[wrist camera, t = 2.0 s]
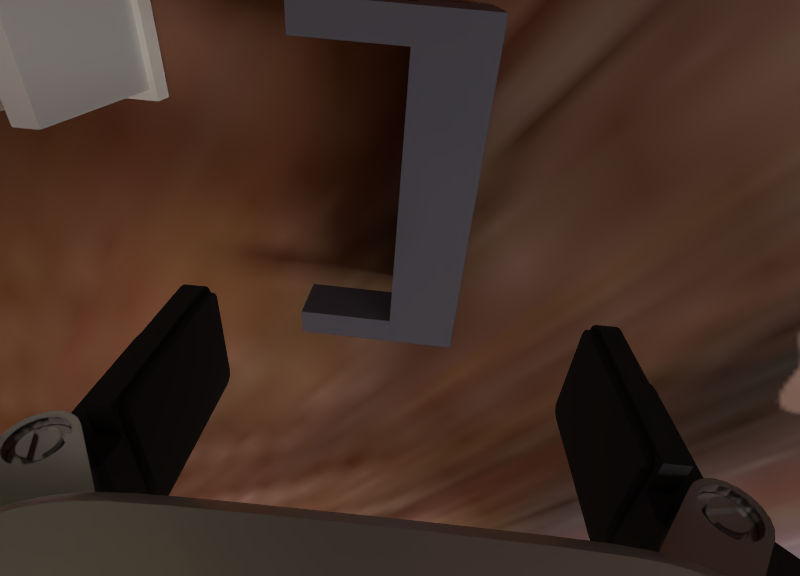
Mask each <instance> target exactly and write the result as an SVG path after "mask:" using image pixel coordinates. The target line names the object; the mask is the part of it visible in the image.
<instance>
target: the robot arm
mask: <svg viewBox="0 0 800 576" xmlns="http://www.w3.org/2000/svg"><path fill="white" fill-rule="evenodd" d="M229 376H230V368H229V363H228V357H227V351H226V346H225V340H224V334H223V329H222V323H221V317H220V312H219V306H218V300H217V296H216V294H215V293H211V292H210V290H209V288H208V287H206V286H196V285H186V284H185V285H182V286H181V287H180V288H179V289H178V290H177V292H176V293H175V294H174V295H173V296H172V297H171V299H170V300H169V301H168V302H167V303H166V304H165V306H164V307H163V308H162V309H161V310H160V311H159V313H158V314H157V315H156V316H155V317H154V318H153V320H152V321H151V322H150V323H149V324H148V325H147V327H146V328H145V329H144V330H143V331H142V332H141V334H139V335H138V336H137V337H136V338H135V339H134V340H133V341H132V343H131V344H130V345H129V346H128V347H127V348H126V350H125V351H124V352H123V353H122V354H121V355H120V357H119V358H118V359H117V360H116V361H115V362H114V364H113V365H112V366H111V367H110V368H109V369H108V371H107V372H106V373H105V374H104V375H103V376H102V378H101V379H100V380H99V381H98V382H97V383H96V385H95V386H94V387H93V388H92V389H91V390H90V392H89V393H88V394H87V395H86V396H85V397H84V398H83V400H82V401H81V402H80V403H79V404H78V405H77V407H76V408H75V409H74V410H73V411H72V412H71V413H70V412H64V411H49V412H44V413H40V414H36V415H33V416H31V417H29V418H26V419H24V420H22V421H20V422H18V423H17V424H15V425H14V426H12V427H11V428H9V429H8V430H7V431H6V432H4V433H3V434H2V435H1V436H0V576H800V559H799V558H797V557H796V556H794V555H793V554H792V553H790V552H789V551H787V550H786V549H784V548H783V547H781V546H780V545H778V544H777V543H776V542H775V529H774V526H773V524H772V521H771V519H770V517H769V516H768V515H767V513H766V512H765V510H764V509H763V508H762V507H761V506H760V505H759V504H758V503H757V502H756V501H755V500H754V499H753V498H752V497H751V496H750V495H748V494H747V493H745V492H744V491H742V490H741V489H740V488H738V487H736V486H734V485H732V484H730V483H727V482H725V481H721V480H718V479H713V478H703V477H702V475H701V473H700V471H699V469H698V467H697V466H696V464H695V462H694V460H693V458H692V456H691V455H690V453H689V451H688V449H687V447H686V445H685V443H684V442H683V440H682V438H681V436H680V434H679V432H678V431H677V429H676V427H675V425H674V423H673V421H672V420H671V418H670V416H669V414H668V412H667V410H666V409H665V407H664V405H663V403H662V401H661V399H660V398H659V396H658V394H657V392H656V390H655V389H654V387H653V386H652V385H651V384H649V382H648V380H647V378H646V376H645V375H644V373H643V371H642V369H641V367H640V365H639V363H638V362H637V360H636V358H635V356H634V354H633V352H632V350H631V349H630V347H629V345H628V343H627V341H626V339H625V337H624V336H623V334H622V332H621V330H620V329H619V328H617V327H610V326H600V325H594V326H592V327H591V329H590V330H585V331H584V332H583V334H582V336H581V339H580V342H579V344H578V347H577V350H576V352H575V355H574V358H573V360H572V363H571V366H570V368H569V371H568V374H567V376H566V379H565V382H564V384H563V387H562V390H561V392H560V395H559V398H558V400H557V403H556V408H555V414H556V420H557V423H558V427H559V431H560V434H561V438H562V441H563V445H564V449H565V452H566V456H567V459H568V463H569V467H570V470H571V474H572V477H573V481H574V485H575V488H576V492H577V495H578V499H579V503H580V506H581V510H582V513H583V517H584V521H585V524H586V528H587V532H588V535H589V538H590V541H587V540H579V539H571V538H564V537H556V536H548V535H540V534H531V533H522V532H513V531H504V530H495V529H486V528H477V527H468V526H459V525H450V524H441V523H432V522H422V521H413V520H404V519H394V518H385V517H376V516H366V515H357V514H347V513H338V512H328V511H319V510H309V509H299V508H289V507H279V506H269V505H259V504H249V503H240V502H230V501H220V500H210V499H199V498H187V497H175V496H168V495H169V494H170V492H171V490H172V488H173V486H174V484H175V483H176V481H177V479H178V477H179V475H180V473H181V471H182V469H183V467H184V465H185V464H186V462H187V460H188V458H189V456H190V454H191V452H192V450H193V448H194V447H195V445H196V443H197V441H198V439H199V437H200V435H201V433H202V431H203V429H204V428H205V426H206V424H207V422H208V420H209V418H210V416H211V414H212V412H213V410H214V409H215V407H216V405H217V403H218V401H219V399H220V397H221V395H222V393H223V392H224V390H225V388H226V386H227V384H228V381H229Z"/></svg>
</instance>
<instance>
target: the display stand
mask: <svg viewBox="0 0 800 576" xmlns="http://www.w3.org/2000/svg"><path fill="white" fill-rule="evenodd" d="M168 97H169V94H168V89H167V84H166V79H165V74H164V68H163V63H162V58H161V53H160V48H159V43H158V38H157V33H156V28H155V23H154V18H153V12H152V7H151V2H150V0H0V111H4V110H5V111H6V114H7V116H8V119H9V122H10V124H11V127H16V128H26V129H36V130H41V129H44V128H47V127H49V126H52V125H55V124H58V123H60V122H63V121H66V120H68V119H71V118H74V117H77V116H79V115H82V114H85V113H87V112H90V111H93V110H96V109H98V108H101V107H104V106H106V105H109V104H112V103H115V102H117V101H120V100H123V99H125V98H129V99H139V100H149V101H161V100H163V99H165V98H168Z"/></svg>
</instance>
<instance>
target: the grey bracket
mask: <svg viewBox="0 0 800 576" xmlns="http://www.w3.org/2000/svg"><path fill="white" fill-rule="evenodd" d="M284 11H285V28H286V35H290V36H301V37H311V38H322V39H333V40H344V41H355V42H365V43H376V44H387V45H398V46H408V47H411V50H410V63H409V76H408V89H407V102H406V115H405V128H404V141H403V154H402V167H401V180H400V193H399V206H398V219H397V232H396V245H395V258H394V271H393V284H392V292H383V291H374V290H364V289H355V288H346V287H337V286H327V285H318V284H314V285H313V287H312V290H311V292H310V294H309V296H308V299H307V301H306V303H305V306H304V308H303V310H302V323H303V331H306V332H315V333H324V334H333V335H342V336H351V337H360V338H369V339H378V340H387V341H396V342H405V343H414V344H423V345H432V346H441V347H450V342H451V336H452V331H453V325H454V319H455V314H456V308H457V302H458V297H459V291H460V285H461V280H462V274H463V268H464V263H465V257H466V251H467V246H468V240H469V234H470V229H471V223H472V217H473V212H474V206H475V200H476V195H477V189H478V183H479V178H480V172H481V166H482V161H483V155H484V149H485V144H486V138H487V132H488V127H489V121H490V115H491V110H492V104H493V98H494V93H495V87H496V81H497V76H498V70H499V64H500V59H501V53H502V48H503V42H504V36H505V31H506V25H507V19H508V14H509V13H508V12H506V11H504V10H502V9H500V8H498V7H496V6H494V5H490V4H478V3H467V2H456V1H445V0H419V1H418V2H417V1H406V0H284Z"/></svg>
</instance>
